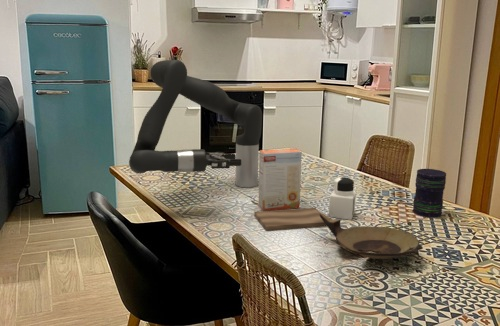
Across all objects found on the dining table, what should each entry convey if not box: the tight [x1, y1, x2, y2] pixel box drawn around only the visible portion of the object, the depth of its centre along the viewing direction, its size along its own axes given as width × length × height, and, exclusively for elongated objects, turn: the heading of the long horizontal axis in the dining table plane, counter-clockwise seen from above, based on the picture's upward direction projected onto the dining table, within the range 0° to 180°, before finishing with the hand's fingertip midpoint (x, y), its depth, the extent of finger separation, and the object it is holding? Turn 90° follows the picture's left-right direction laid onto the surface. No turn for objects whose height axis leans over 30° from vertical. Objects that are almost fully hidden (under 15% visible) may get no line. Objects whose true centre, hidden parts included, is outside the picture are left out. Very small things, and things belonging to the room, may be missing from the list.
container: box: [328, 176, 357, 221], centre depth 171 cm, size 8×8×13 cm
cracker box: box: [258, 148, 302, 211], centre depth 177 cm, size 14×6×21 cm, turn 105°
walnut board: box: [253, 207, 327, 232], centre depth 166 cm, size 14×22×2 cm, turn 105°
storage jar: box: [412, 168, 447, 219], centre depth 175 cm, size 10×10×15 cm
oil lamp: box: [320, 212, 424, 260], centre depth 144 cm, size 22×30×8 cm
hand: (238, 159), depth 171 cm, fingers open, 8 cm apart
